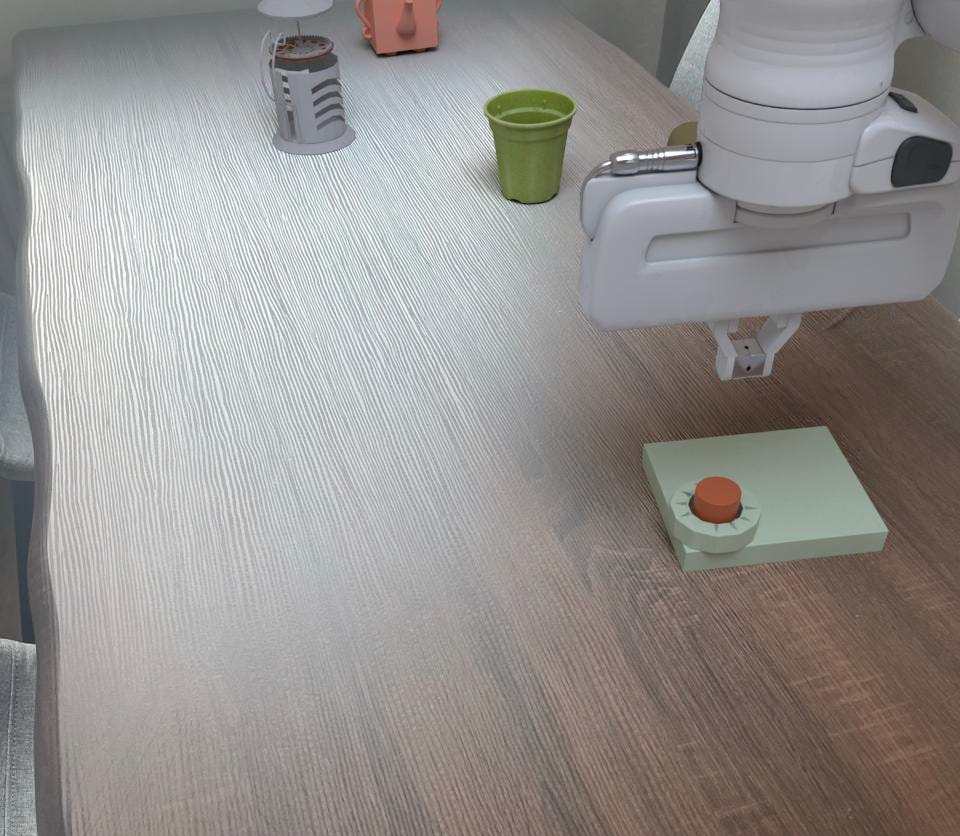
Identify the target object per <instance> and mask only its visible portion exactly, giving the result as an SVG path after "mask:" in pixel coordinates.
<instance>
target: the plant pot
mask: <svg viewBox="0 0 960 836" xmlns="http://www.w3.org/2000/svg"><path fill="white" fill-rule="evenodd" d="M482 110H483V115H484V116H485V117H486V119H487V121H488V125H489V128H490V131H491V132H492V138H493V145H494V149H495V157H496V163H497V169H498V170H497V171H498V177H499V184H500V191H501V194H502V195H503V196H504V198H506V199H508V200H517V201H519V202H520V203H522V204H537V203H543V202H546V201H549V200H551V199H552V197H553V196H554V195H557V194H558V193H559V191H560V186H561V179H562V171H563V166H564V160H565V159H564V158H565V152H566V146H567V141H568V135H569V130H570V128H571V126H572V122H573V117H575V115H576V114H577V111H578V103H577V101H576V100H575V99H574V98H573V97H572V96H570V95H568V94H566V93H564V92H561V91H558V90H553V89H545V88H521V89H513V90H508V91H504V92H501V93H497V94H496V95H494V96H492V97H490V98H489V99H488V100H486V101H485V102H484V104H483V107H482Z"/></svg>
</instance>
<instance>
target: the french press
mask: <svg viewBox="0 0 960 836" xmlns="http://www.w3.org/2000/svg"><path fill="white" fill-rule="evenodd" d="M333 1H334V0H261V1H260V2H259V3H258V4H257V12H258V13H259V14H260V15H261V16H262V17H263V18H265V19H268V20H272V21H276V22H277V21H278V22H296V26H297V32H298V35H297V34H295V35H292V36H291V35H290V36H286V34H285V32H284V31H282V32H279V34H278V36H277V38H276V39H274V35H273V32H272V29H270V30H269V29H268V30H267V31H266V32H265V34H264V35H263V38H262V40H261V43H260V44H261V45H260V50H259V62H258V64H259V65H258V67H259V73H260V79H261V84H262V87H263V90H264V92H265V93H266V96H267V97H268V98H269V100H270V101H271V102H273V103H274V105H275V113H276V118H277V124H278V129H277V131H276V132H275V133H274V135H272V145H273V146H274V147H275V148H276V149H277V150H279V151H282V152H285V153H288V154H291V155H302V156H311V155H322V154H328V153H331V152H335V151H339V150H341V149H343V148H345V147H347V146H349V145H351V143H352V142H353V141H354V140H355V139H356V131H355V129H354V128H352V127H351V126H350V125H349V124H348V123H347V122H346V118H344V117H345V116H346V114H345V107H344V106H343V105H344V97H343V94H341V93H343V90H342V84H341V83H340V81H341V71H340V63H339V57H338V55H336V54H335V53H334V52H332V51H333V50H334V47H335V46H334V42H333V41H332V40H331V39H330V38H329V37H326V36H322V35H317V34H315V35H314V34H313V35H311V34H307V35H306V34H304V35H303V34H301V27H300V21H303V20H309V19H314V18H317V17H320V16H323V15H325V14H326V13H328V12H329V11H330V10H331V9H332V8H333V5H334V2H333ZM268 35H269V36H270V40H271V42H272V43H271V44H270V45H269V47H268V53H269V54H270V55H271V56H272V57H271V58H270V60H269V62H268V69H269V75H270V81H271V88H272V93H273V97H272V96H271V95H270V93H269V91H268V88H267V86H266V82H265V77H264V72H263V60H262V59H263V51H264V45H265V41H266V38H267V37H268ZM276 69H280V70H283V71H287V72H303V71H306V70H308V73H307V72H306V73H286V75H283V74H282V72H280V71H277V70H276ZM284 83H287V85H288V87H286V86H285V87H284ZM285 95H289V99H287V98H286V96H285ZM287 106H289V107H291V110H288V109H287V108H288V107H287Z"/></svg>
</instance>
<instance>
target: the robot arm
mask: <svg viewBox="0 0 960 836" xmlns="http://www.w3.org/2000/svg"><path fill="white" fill-rule="evenodd" d="M718 13H719V14H718V20H717V25H716V30H715V34H714V36H713V39H712V41H711V44H710V46H709V49H708V52H707V54H706V58H705V62H704V68H703V78H702V84H701V92H700V100H699V101H700V102H699V110H698V118H697V122H698V125H697V133H696V141H695V144H685V145H675V146H667V145H666V146H661V147H657V148H651V149H646V150H644V149H643V150H637V149H634V148H633V149H622V150H618V151H615V152H612V153H611V154H610V155H609V159H608V160H605V161H602V162H600V163H599V164H597V165H595V166H594V167H593V168H592V169H591V170H590V171H589V172H588V173H587V175H586V176H585V177H584V179H583V181H582V183H581V186H580V191H579V209H578V211H579V212H578V220H579V226H580V228H581V230H582V231H583V233H584V237H583V241H582V247H581V253H580V258H579V265H578V267H579V268H578V275H577V295H578V300H579V304H580V306H581V309H582V312H583V314H584V316H585V318H586V319H587V320H588V321H589V323H591V324H592V326H593V327H594V328H595V329H597V330H598V331H599V332H602V333H611V332H619V331H630V330H641V329H650V328H659V327H661V328H662V327H669V326H670V327H671V326H681V325H689V324H690V325H691V324H699V323H706V324H707V325H708V328H709V331H710V332H711V333H712V335H713V338H714V339H715V342H716V343H717V350H716V356H715V372H716V373H717V375H718V377H719V379H720V381H721V382H724V381H735V380H743V379H751V378H761V377H762V378H763V377H769V376H771V373H772V369H773V364H774V359H775V355H776V354H777V353H778V352H779V351H780V350H781V349H782V348H783V347H784V346H785V344H786V343H787V342H788V341H789V340H790V339H791V338H792V337H793V335H794V334H795V333H796V332H797V331H798V329H800V327H801V323H802V318H803V314H804V313H810V312H821V311H827V310H828V311H829V310H839V309H840V310H841V309H849V308H859V307H870V306H871V307H872V306H879V305H889V304H899V303H900V304H901V303H910V302H918V301H923V300H924V299H925V298H927V297H928V296H929V295H930V294H931V293H932V292H934V290H935V289H936V288H938V286H939V285H940V284H941V283H942V281H943V280H944V277H945V274H946V272H947V270H948V267H949V264H950V260H951V257H952V253H953V251H954V250H953V249H954V246H955V242H956V238H957V234H958V229H959V225H960V189H959V188H958V185H957V184H956V182H957V181H959V180H960V128H959V127H958V125H956V124H955V123H954V122H953V121H952V120H951V119H950V118H949V117H948V116H947V115H946V114H945V113H943V112H942V111H941V110H939V109H938V108H937V107H936V106H934V105H933V104H932V103H931V102H929V101H928V100H926V99H925V98H923V97H922V96H920V95H919V94H917V93H915V92H912V91H909V90H906V89H902V88H898V87H896V86H895V87H894V86H891V85H892V81H893V76H894V70H895V53H896V51H897V49H898V47H899V46H900V45H901V44H902V43H903V42H904V41H906V40H908V39H912V38H919V37H924V36H926V37H927V38H928V39H929V40H931V41H933V42H935V43H937V44H938V45H940V46H942V47H944V48H947V49H949V50H952V51H954V52H955V53H958V54H960V0H719V12H718ZM607 170H609V171H608V172H605V171H607ZM759 317H768V319H767V320H766V322H765V323H764V324H763V326H762V327H761V329H760V330H759V331H758V333H757V334H756V335H755V337H750V338H744V339H732V340H731V339H730V336H729V335H728V334H735V333H737V332H738V330H739V324H740V319H741V320H742V319H749V318H751V319H752V318H759Z"/></svg>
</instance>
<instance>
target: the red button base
mask: <svg viewBox="0 0 960 836" xmlns="http://www.w3.org/2000/svg"><path fill="white" fill-rule="evenodd" d="M641 457H642V458H641V466H642V468H643V472H644V474H645V476H646V478H647V482H648V483H649V487H650V489H651V492H652V494H653V497H654V500H655V503H656V505H657V508H658V511H659V513H660V516H661V518H662V520H663V524H664V527H665V529H666V532H667V534H668V537H669V540H670V542H671V545H672V548H673V550H674V554H675V555H676V558H677V561H678V563H679V567H680V569H681V571H682V573H692V572H700V571H708V570H719V569H728V568H734V567H735V568H736V567H737V568H738V567H746V566H757V565H765V564H773V563H782V562H783V563H784V562H792V561H801V560H802V561H803V560H811V559H820V558H829V557H830V558H831V557H838V556H839V557H840V556H847V555H848V556H849V555H857V554H866V553H876V552H882V551H883V548H884V545H885V542H886V540H887V537H888V534H889V532H890V531H889V528H888V527H887V525H886V524H885V522H884V520H883V519H882V517H881V514H879V512H878V510H877V508H876V507H875V505H874V503H873V502H872V500H871V498H870V497H869V494H868V493H867V492H866V490H865V488H864V487H863V484H862V483H861V482H860V480H859V478H858V476H857V475H856V473H855V472H854V470H853V468H852V466H851V465H850V463H849V461H848V460H847V458H846V457H845V455H844V454H843V452H842V450H841V448H840V447H839V445H838V443H837V442H836V440H835V438H834V436H833V435H832V433H831V431H830V430H829V428H828V426H826V425H819V426H811V427H801V428H800V427H799V428H790V429H781V430H779V429H778V430H770V431H762V432H761V431H760V432H759V431H758V432H751V433H749V432H748V433H740V434H731V435H730V434H729V435H719V436H708V437H700V438H690V439H689V438H688V439H679V440H670V441H659V442H649V443H644V444H643V451H642V456H641ZM714 476H718V477H724V478H728V479H730V480H732V481H734V482H735V483H737V484H738V485H739V487H740V489H741V492H742V494H741V499H740V504H739V509H738V513H737V516H736V518H735V519H734V520H733V521H731V522H729V523H723V524H713V523H709V522H705V521H702V520H700V519H699V518H697V517H696V516H695V514H694V513H693V509H692V507H693V501H694V495H695V489H696V486H697V484H698V483H699V482H700V481H701V480H703V479H705V478H708V477H714Z"/></svg>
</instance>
